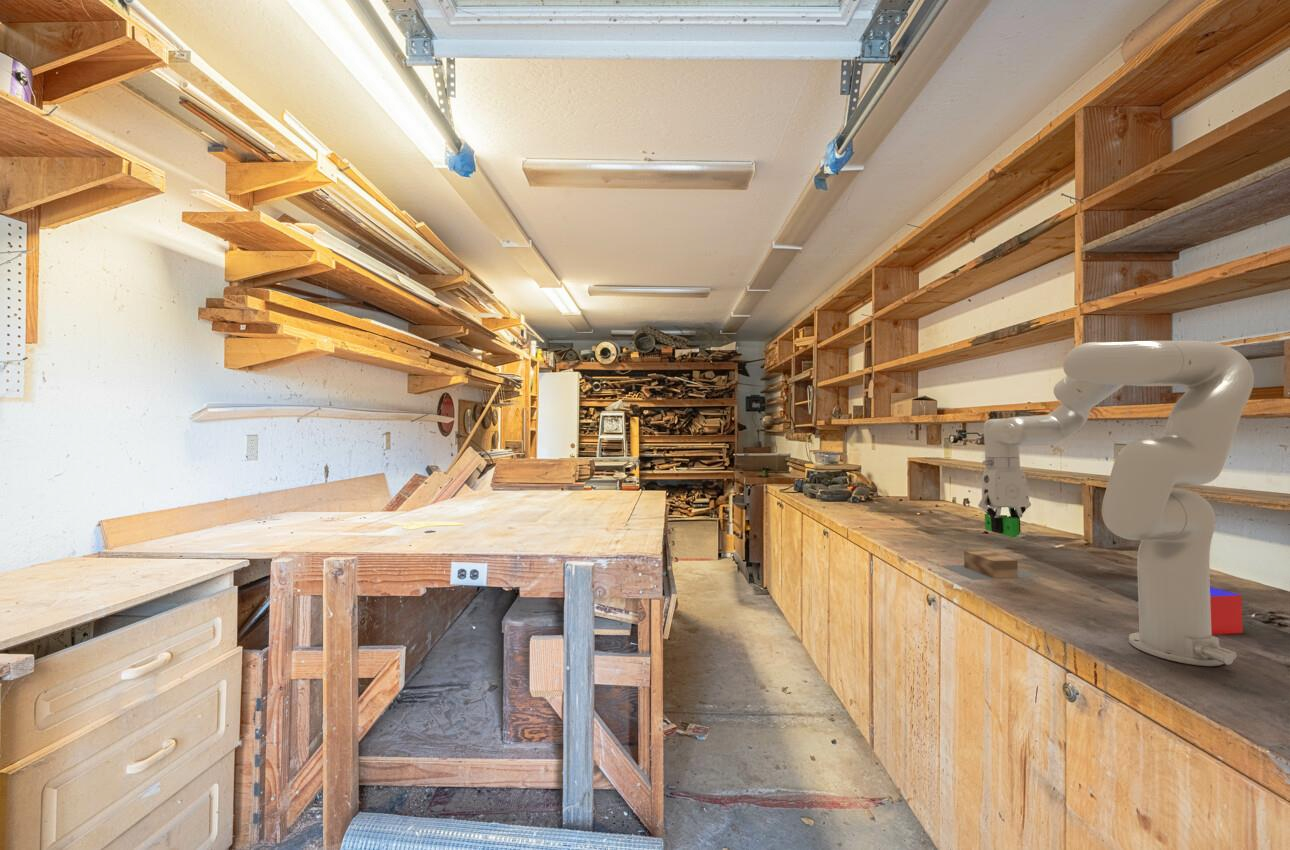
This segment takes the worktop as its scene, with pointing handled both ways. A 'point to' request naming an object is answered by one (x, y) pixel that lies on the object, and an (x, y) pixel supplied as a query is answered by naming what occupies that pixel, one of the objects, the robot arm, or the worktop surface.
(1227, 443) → the robot arm
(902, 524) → the worktop surface
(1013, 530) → the green notched block
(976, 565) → the base brick
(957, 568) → the mat
